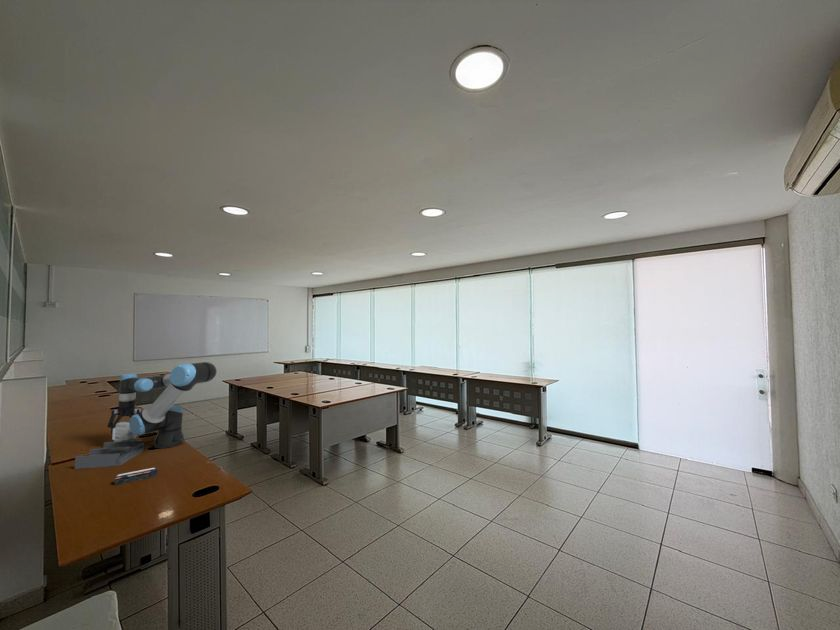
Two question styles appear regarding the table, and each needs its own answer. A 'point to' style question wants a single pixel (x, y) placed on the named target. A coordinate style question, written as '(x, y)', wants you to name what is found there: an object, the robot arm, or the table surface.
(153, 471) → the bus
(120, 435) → the ink box
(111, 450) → the rack
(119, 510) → the table surface
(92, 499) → the table surface
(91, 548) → the table surface
